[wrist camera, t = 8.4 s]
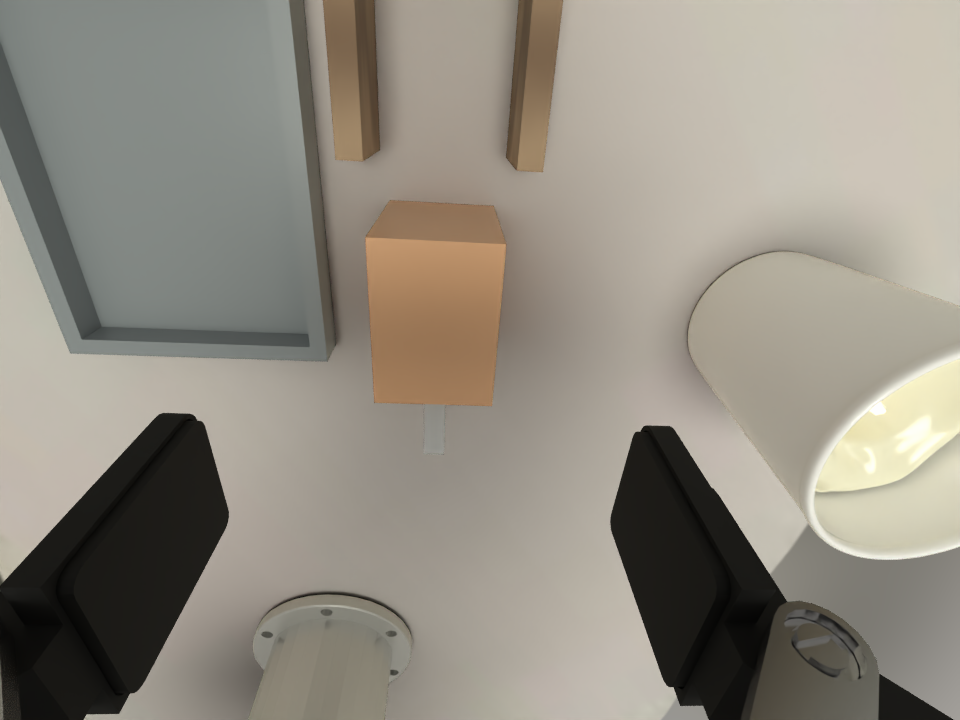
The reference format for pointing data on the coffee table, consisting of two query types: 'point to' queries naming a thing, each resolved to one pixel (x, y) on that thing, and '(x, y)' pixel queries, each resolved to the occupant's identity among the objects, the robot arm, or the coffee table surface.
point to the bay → (358, 91)
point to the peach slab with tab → (435, 307)
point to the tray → (168, 174)
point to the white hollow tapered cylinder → (842, 396)
